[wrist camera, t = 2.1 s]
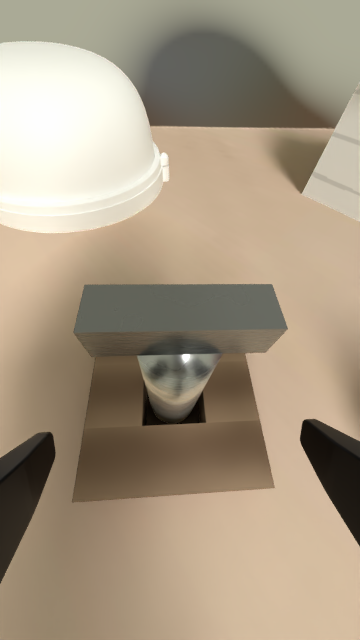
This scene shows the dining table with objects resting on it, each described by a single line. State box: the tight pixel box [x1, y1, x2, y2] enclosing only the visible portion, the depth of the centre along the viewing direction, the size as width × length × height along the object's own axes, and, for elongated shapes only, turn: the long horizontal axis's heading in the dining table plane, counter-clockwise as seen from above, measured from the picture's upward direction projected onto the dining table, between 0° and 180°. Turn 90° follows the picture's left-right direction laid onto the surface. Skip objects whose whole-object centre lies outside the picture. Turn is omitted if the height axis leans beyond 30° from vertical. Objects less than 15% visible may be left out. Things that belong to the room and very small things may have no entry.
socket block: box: [72, 353, 275, 502], centre depth 17 cm, size 12×12×3 cm
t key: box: [73, 284, 288, 424], centre depth 13 cm, size 4×6×14 cm, turn 93°
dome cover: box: [0, 41, 169, 233], centre depth 31 cm, size 32×30×14 cm
